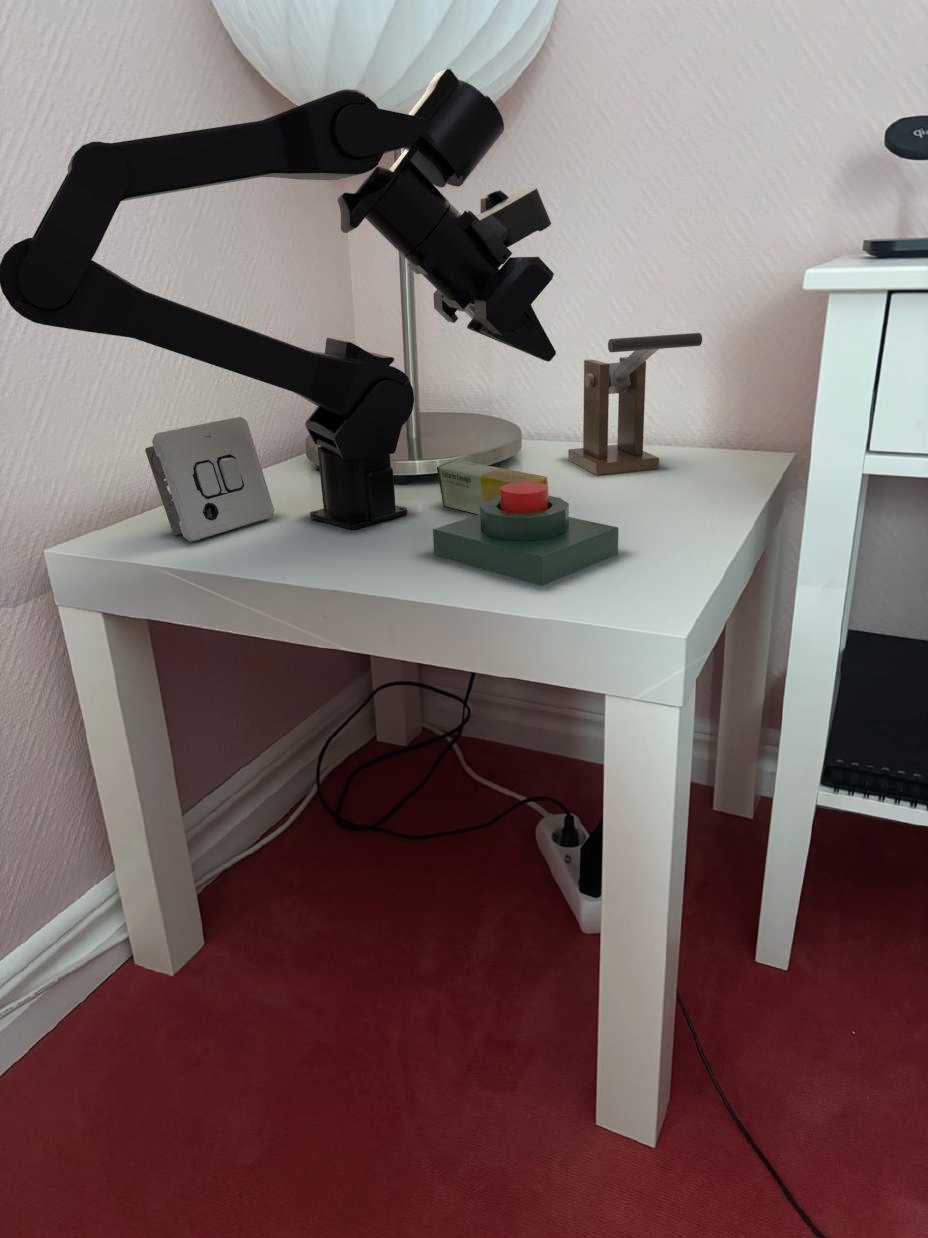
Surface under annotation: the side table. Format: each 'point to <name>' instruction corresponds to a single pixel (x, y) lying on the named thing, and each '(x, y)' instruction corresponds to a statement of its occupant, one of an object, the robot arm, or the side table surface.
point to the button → (524, 497)
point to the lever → (642, 354)
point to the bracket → (630, 424)
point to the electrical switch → (209, 478)
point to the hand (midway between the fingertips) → (551, 357)
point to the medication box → (476, 483)
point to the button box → (526, 542)
